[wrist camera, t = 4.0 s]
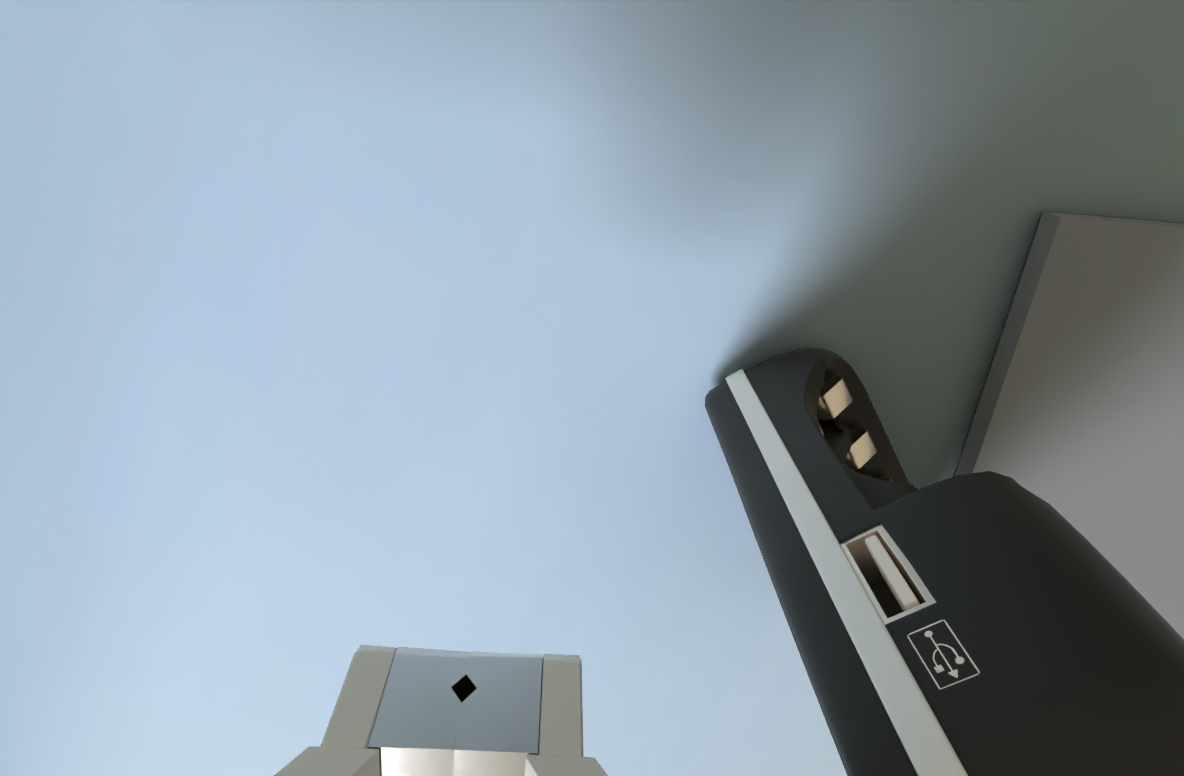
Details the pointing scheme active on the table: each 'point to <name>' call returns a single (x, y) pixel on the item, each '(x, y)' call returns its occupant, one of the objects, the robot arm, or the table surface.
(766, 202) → the table surface
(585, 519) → the table surface
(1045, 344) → the mat
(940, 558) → the battery charger
